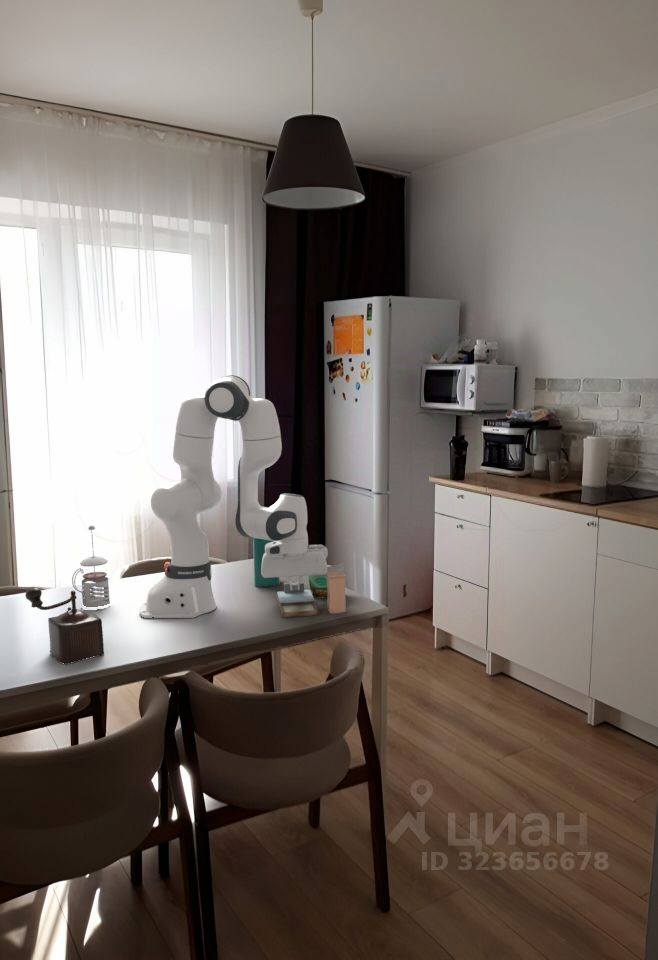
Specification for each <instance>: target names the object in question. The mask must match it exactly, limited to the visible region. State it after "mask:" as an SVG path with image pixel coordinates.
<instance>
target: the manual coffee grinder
mask: <svg viewBox="0 0 658 960" xmlns="http://www.w3.org/2000/svg"><path fill="white" fill-rule="evenodd" d="M42 593H43V591H42V590H41V589H40V588H38V587H31V588H29V589H28V590H26V591H25V596H24V597H25V599H27V600H28V601H29V602H30V603H31V608H37V609H39V610H41V611H48V610H52V609H57V608H59V607H62V606H65V605H67V604H69V603H71V607H68V608H67V611H65V612H64V613H61V614H59V615H57V616H52V617H48V619H47V621H48V632H49V633H48V634H49V654H50V655H51V654H52V655H53V656H54V657H55V658H56V659H57V660H58V661H57V662H59V661H60V662H62V663H64V664H65V663H70V664H72V663H71V662H74V661H78V660H82V659H86V658H90V657H93V656H97V655H100V656H103V655H102V654H104V655H105V649H104V648H105V646H104V634H103V633H104V632H103V621H102V619H101V618H100V617H99V616H97V615H96V614H94V613H92V612H91V611H89V610H82V609H77V607H76V600H77V596H76V594H77V593H76V590H71V591H70V597H69V598H67V599H66V600H63V601H61V602H58V603H57V602H56V603H55V604H53V605H48V606H43V604H44V603H43V601H42V599H41V597H42ZM52 655H51V656H52ZM53 656H52V657H53ZM54 657H53V658H54ZM97 657H98V656H97ZM55 658H54V659H55ZM93 658H94V657H93ZM56 659H55V660H56ZM90 659H91V658H90ZM86 660H87V659H86ZM82 661H83V660H82ZM60 662H59V663H60ZM78 662H79V661H78ZM62 663H61V664H62ZM74 663H75V662H74ZM64 664H63V665H64ZM65 665H66V664H65Z"/></svg>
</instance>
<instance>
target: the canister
mask: <svg viewBox="0 0 658 960" xmlns="http://www.w3.org/2000/svg"><path fill="white" fill-rule="evenodd" d="M326 575H327V598H326V600H327V610H329V611H328V613H329V612H330V613H332V614H341V613H340V612H346V610H347V609H346V574H345V573H344V571H342V572H328V573H326ZM330 613H329V614H330Z"/></svg>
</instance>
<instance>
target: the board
mask: <svg viewBox="0 0 658 960" xmlns="http://www.w3.org/2000/svg"><path fill="white" fill-rule="evenodd" d="M277 592H278V591H276V595H275V596H276V599H277V604H278V607H279V610H280V613H281V617H282V618H284V619H285V618H296V617H297V618H298V617H312V615H315V616H319V609H318V607H317V604H316V602H315V600H314V601H307V602H291V603H280V601H279V598H278V594H277Z"/></svg>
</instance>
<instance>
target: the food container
mask: <svg viewBox="0 0 658 960" xmlns="http://www.w3.org/2000/svg"><path fill="white" fill-rule="evenodd" d="M344 570H345V566H344V564H343V562H341V563H340V564H338V565H337V564H336V565H330V564H327V573H328V572H344ZM307 577H308V583H309V590H310V591H311V593H312V595H313V596H314V598H317V597H321V598H320V599H326V598H325V597H327V575H326V574H325V575H310V576H307ZM322 597H324V598H322Z"/></svg>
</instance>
